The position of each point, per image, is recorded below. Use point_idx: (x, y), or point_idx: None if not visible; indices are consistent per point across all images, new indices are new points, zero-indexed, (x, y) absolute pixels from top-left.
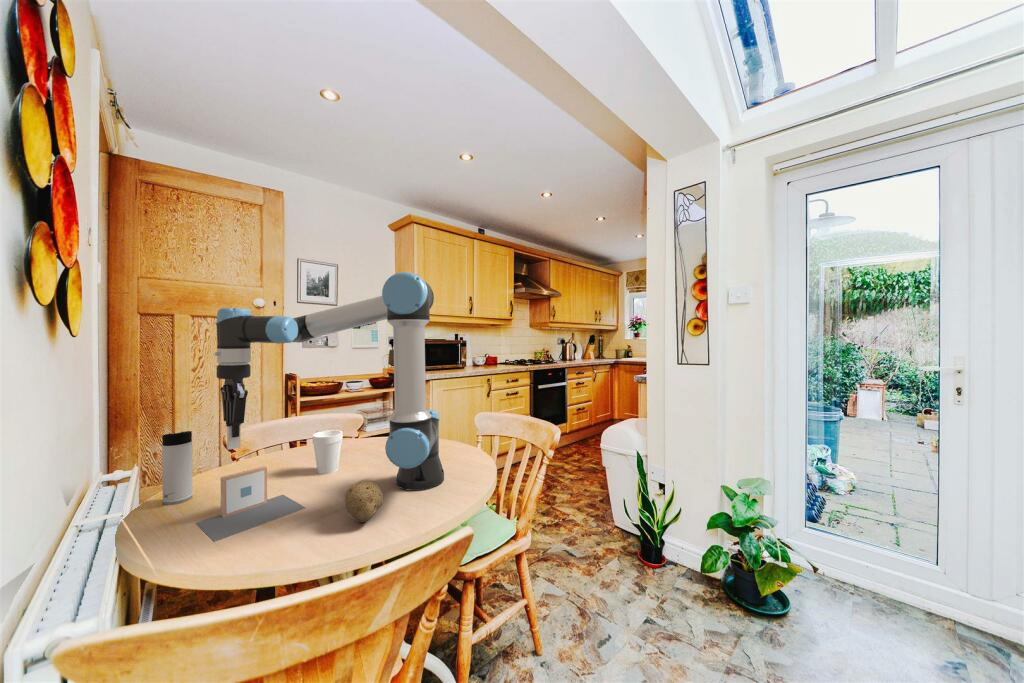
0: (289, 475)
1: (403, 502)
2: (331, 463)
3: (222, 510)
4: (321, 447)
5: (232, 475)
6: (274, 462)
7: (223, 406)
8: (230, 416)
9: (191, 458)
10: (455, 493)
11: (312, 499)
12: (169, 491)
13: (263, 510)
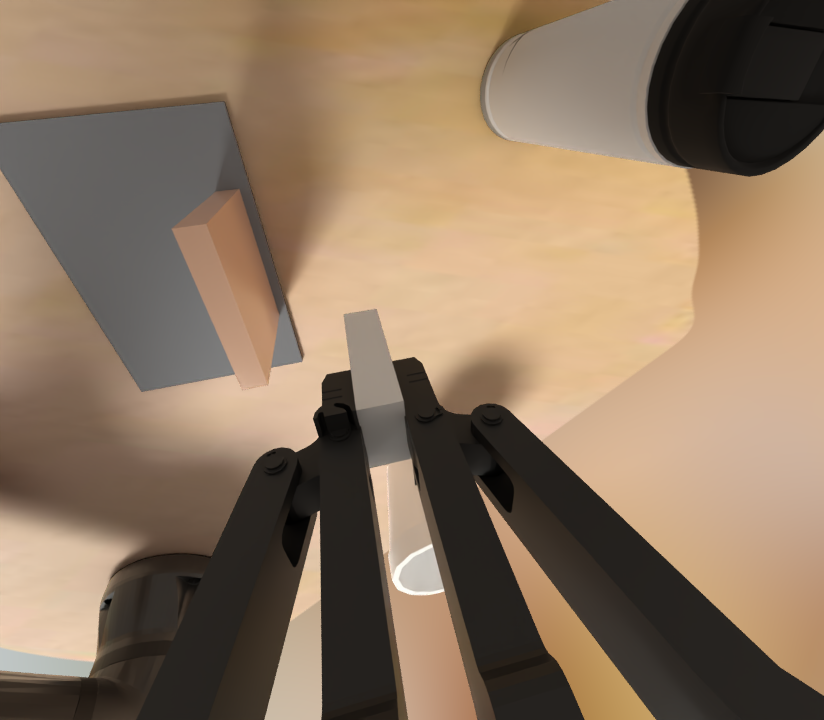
0: (459, 393)
1: (49, 548)
2: (388, 491)
3: (214, 195)
4: (404, 521)
5: (203, 271)
6: (601, 379)
7: (587, 518)
8: (334, 496)
9: (589, 149)
10: (45, 619)
11: (215, 410)
12: (519, 46)
13: (198, 301)
